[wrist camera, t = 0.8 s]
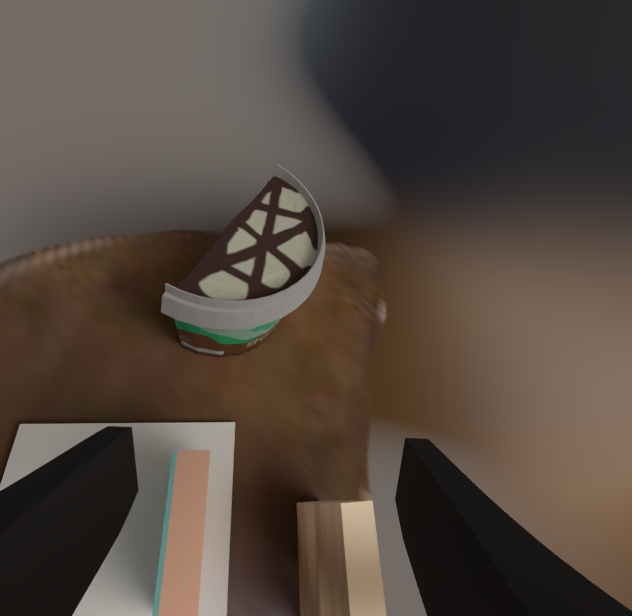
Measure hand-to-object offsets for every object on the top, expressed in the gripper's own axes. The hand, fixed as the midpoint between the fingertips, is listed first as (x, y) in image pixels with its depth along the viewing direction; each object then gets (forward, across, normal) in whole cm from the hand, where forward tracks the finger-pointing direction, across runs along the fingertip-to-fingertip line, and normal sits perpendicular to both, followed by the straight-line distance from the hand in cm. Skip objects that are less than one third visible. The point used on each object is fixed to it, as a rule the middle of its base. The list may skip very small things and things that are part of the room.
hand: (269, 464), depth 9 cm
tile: (+8, +5, +12) cm, 15 cm away
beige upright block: (+8, -2, +14) cm, 17 cm away
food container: (+19, +3, +3) cm, 19 cm away
